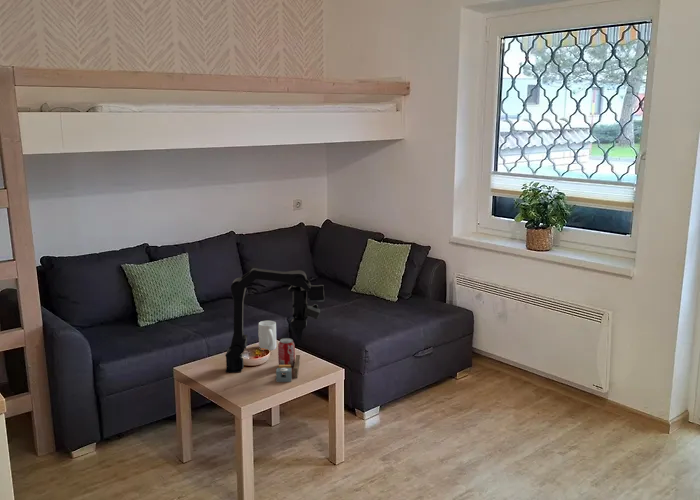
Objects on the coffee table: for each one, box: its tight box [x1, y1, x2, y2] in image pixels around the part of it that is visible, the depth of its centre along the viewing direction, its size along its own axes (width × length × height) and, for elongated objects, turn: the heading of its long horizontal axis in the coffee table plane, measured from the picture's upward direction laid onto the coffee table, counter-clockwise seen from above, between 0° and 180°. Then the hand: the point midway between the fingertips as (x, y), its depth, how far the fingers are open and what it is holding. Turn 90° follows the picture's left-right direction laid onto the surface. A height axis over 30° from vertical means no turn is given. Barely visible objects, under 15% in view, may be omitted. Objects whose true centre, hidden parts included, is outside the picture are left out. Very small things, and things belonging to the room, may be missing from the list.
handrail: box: [293, 354, 301, 379], centre depth 276 cm, size 2×15×4 cm, turn 1°
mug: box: [257, 320, 277, 351], centre depth 300 cm, size 8×12×12 cm
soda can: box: [277, 337, 296, 368], centre depth 280 cm, size 7×7×12 cm
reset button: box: [278, 364, 291, 374], centre depth 270 cm, size 5×4×3 cm
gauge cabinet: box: [275, 367, 293, 383], centre depth 267 cm, size 6×4×5 cm, turn 91°
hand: (300, 336), depth 275 cm, fingers open, 9 cm apart
